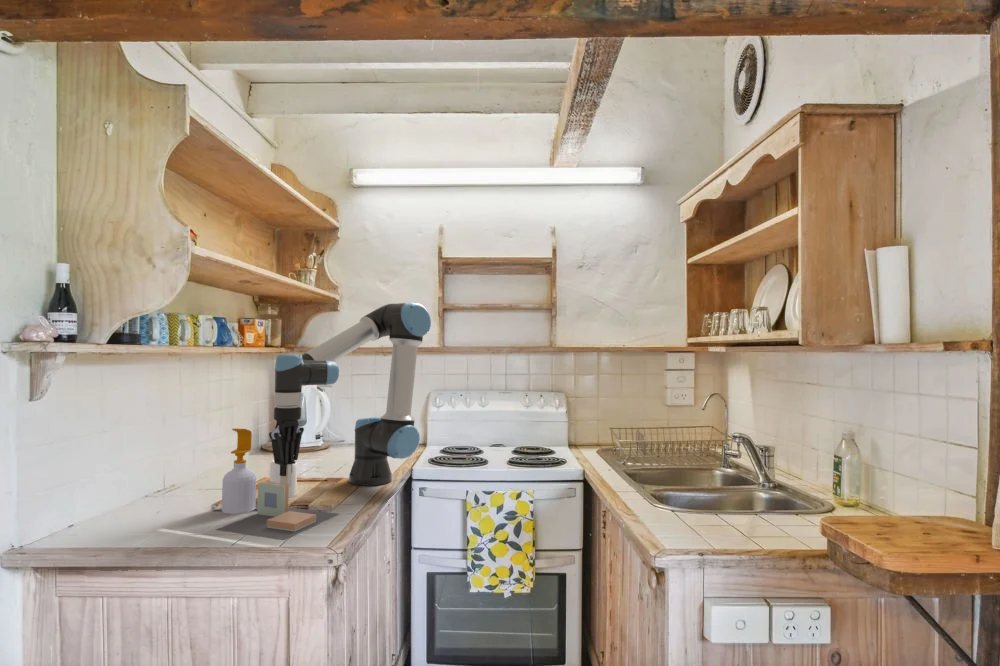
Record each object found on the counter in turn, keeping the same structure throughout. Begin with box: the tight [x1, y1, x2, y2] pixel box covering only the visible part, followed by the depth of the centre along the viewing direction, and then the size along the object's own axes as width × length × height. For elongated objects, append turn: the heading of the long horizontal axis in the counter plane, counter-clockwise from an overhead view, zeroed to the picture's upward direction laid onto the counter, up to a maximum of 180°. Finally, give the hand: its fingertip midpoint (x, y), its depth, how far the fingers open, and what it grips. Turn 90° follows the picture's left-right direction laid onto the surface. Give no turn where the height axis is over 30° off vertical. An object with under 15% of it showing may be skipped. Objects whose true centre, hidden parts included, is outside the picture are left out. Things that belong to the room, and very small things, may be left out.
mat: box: [215, 507, 340, 541], centre depth 162 cm, size 24×22×1 cm
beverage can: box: [269, 459, 298, 499], centre depth 188 cm, size 8×8×12 cm
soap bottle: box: [221, 428, 257, 515], centre depth 173 cm, size 9×9×25 cm
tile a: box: [267, 511, 316, 532], centre depth 159 cm, size 2×9×9 cm
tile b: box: [256, 480, 289, 517], centre depth 167 cm, size 2×9×9 cm, turn 72°
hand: (285, 486), depth 173 cm, fingers closed
